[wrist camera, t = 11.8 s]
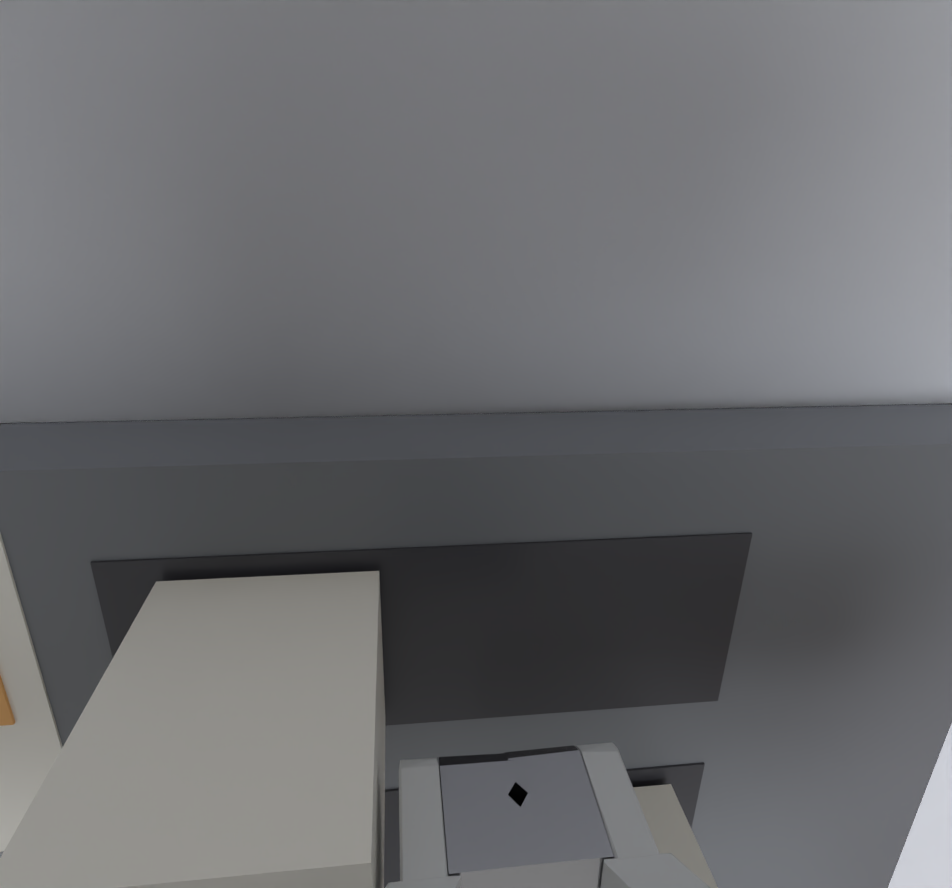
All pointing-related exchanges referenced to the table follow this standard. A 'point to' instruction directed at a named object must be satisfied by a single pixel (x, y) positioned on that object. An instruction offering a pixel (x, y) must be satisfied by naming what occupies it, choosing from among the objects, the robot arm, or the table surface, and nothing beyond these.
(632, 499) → the switch panel
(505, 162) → the table surface
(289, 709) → the tab inner
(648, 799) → the tab middle
